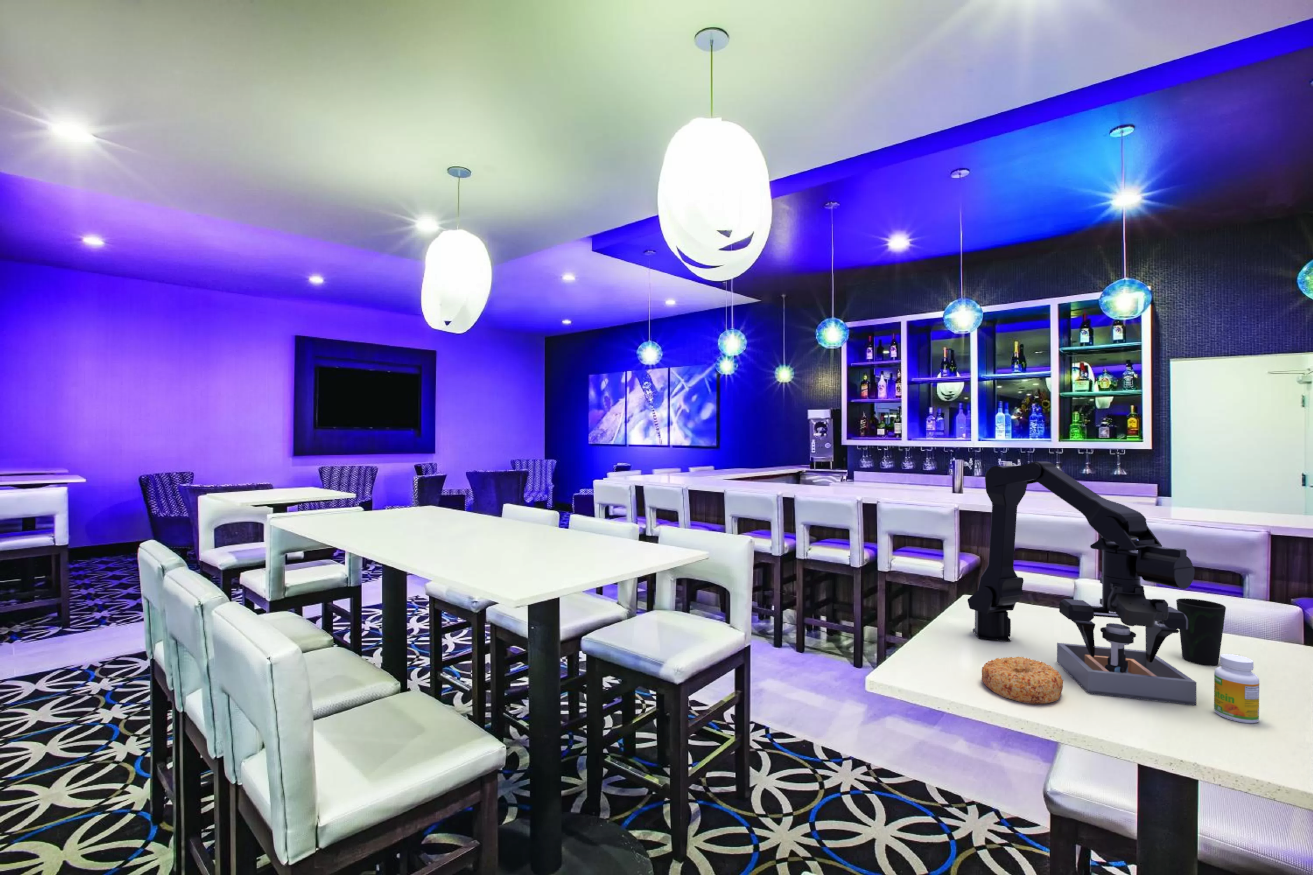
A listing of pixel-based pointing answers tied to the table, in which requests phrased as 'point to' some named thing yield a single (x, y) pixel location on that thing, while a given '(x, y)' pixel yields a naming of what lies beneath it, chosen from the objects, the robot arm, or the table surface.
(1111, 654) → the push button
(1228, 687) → the supplement bottle
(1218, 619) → the cup
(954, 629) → the table surface
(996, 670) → the bagel
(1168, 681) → the walled box
